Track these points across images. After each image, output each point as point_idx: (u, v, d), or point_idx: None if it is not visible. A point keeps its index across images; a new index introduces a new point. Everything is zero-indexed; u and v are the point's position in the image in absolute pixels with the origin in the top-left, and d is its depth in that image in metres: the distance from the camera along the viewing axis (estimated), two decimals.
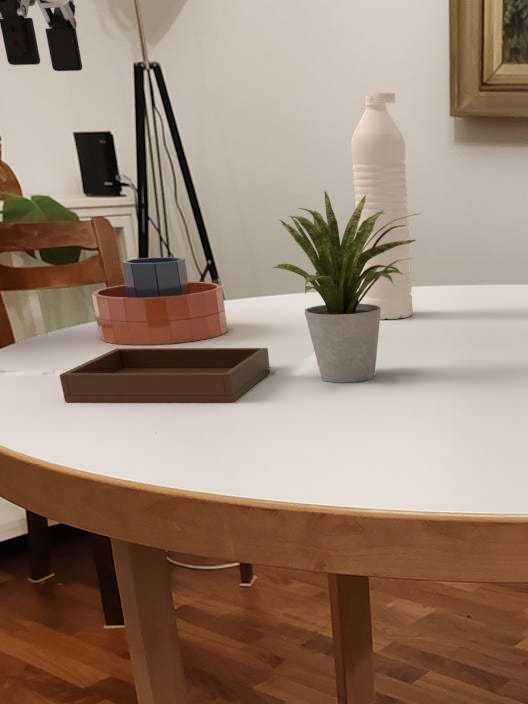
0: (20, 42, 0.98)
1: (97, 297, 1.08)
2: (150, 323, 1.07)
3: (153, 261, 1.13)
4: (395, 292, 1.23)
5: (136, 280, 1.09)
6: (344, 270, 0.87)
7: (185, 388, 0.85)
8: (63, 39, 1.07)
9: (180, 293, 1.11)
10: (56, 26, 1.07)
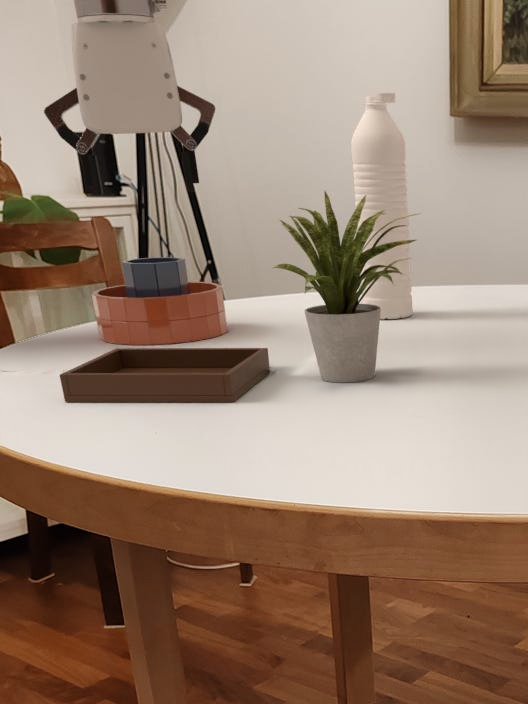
0: (85, 177, 1.05)
1: (97, 297, 1.08)
2: (150, 323, 1.07)
3: (153, 261, 1.13)
4: (395, 292, 1.23)
5: (136, 280, 1.09)
6: (344, 270, 0.87)
7: (185, 388, 0.85)
8: None
9: (180, 293, 1.11)
10: None
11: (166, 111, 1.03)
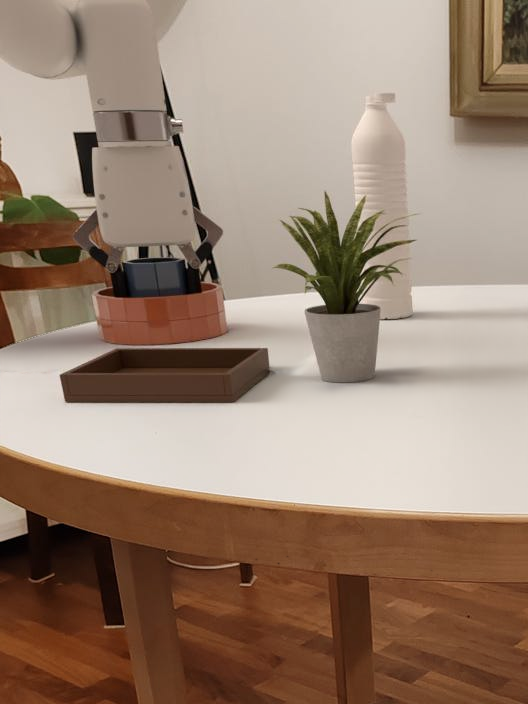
0: None
1: (97, 297, 1.08)
2: (150, 323, 1.07)
3: (153, 261, 1.13)
4: (395, 292, 1.23)
5: (136, 280, 1.09)
6: (344, 270, 0.87)
7: (185, 388, 0.85)
8: None
9: (180, 293, 1.11)
10: None
11: (181, 226, 1.08)
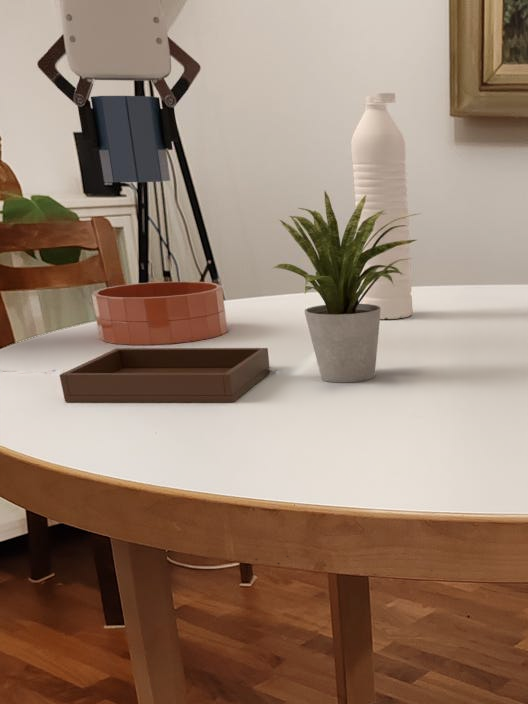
0: None
1: (97, 297, 1.08)
2: (150, 323, 1.07)
3: None
4: (395, 292, 1.23)
5: (106, 115, 1.01)
6: (344, 270, 0.87)
7: (185, 388, 0.85)
8: None
9: (153, 133, 1.03)
10: None
11: (155, 57, 1.00)
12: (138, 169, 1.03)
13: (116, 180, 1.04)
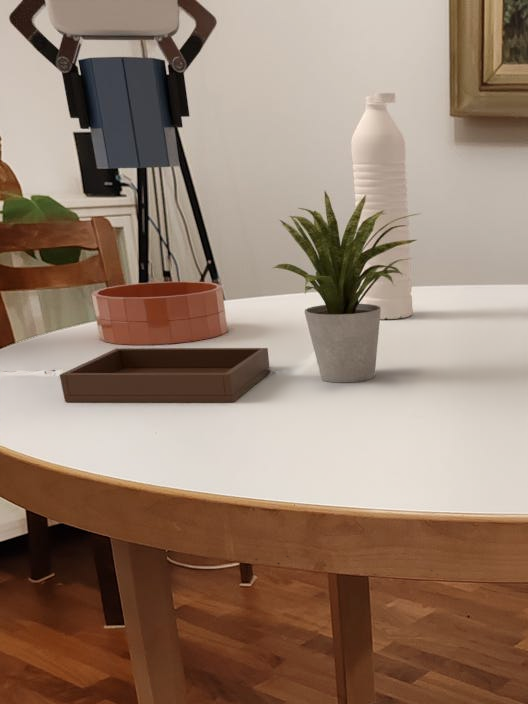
0: None
1: (97, 297, 1.08)
2: (150, 323, 1.07)
3: None
4: (395, 292, 1.23)
5: (98, 82, 0.79)
6: (344, 270, 0.87)
7: (185, 388, 0.85)
8: None
9: (158, 105, 0.81)
10: None
11: (159, 7, 0.79)
12: (140, 151, 0.81)
13: (112, 166, 0.82)
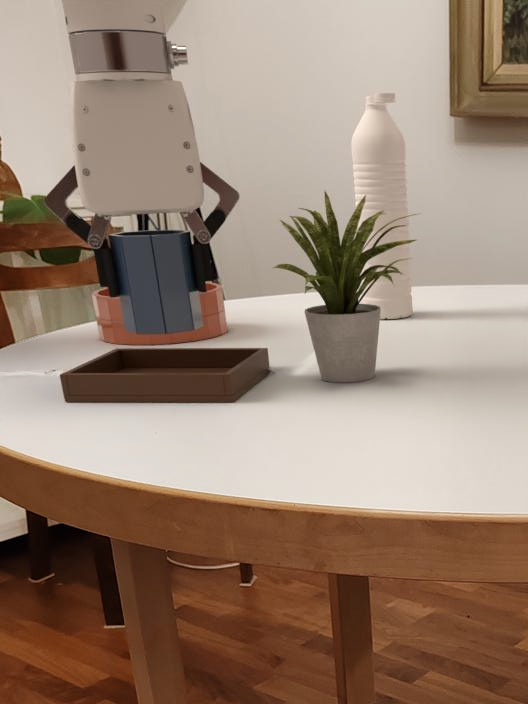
0: (98, 274, 0.85)
1: (97, 297, 1.08)
2: None
3: (149, 235, 0.88)
4: (395, 292, 1.23)
5: (127, 258, 0.83)
6: (344, 270, 0.87)
7: (185, 388, 0.85)
8: (193, 256, 0.87)
9: (184, 276, 0.85)
10: None
11: (185, 188, 0.83)
12: (167, 318, 0.86)
13: (140, 332, 0.86)
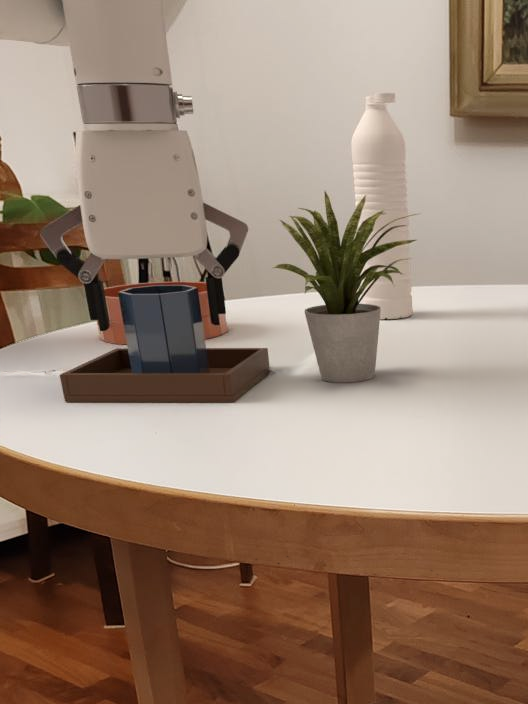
0: None
1: None
2: None
3: (157, 289, 0.90)
4: (395, 292, 1.23)
5: (136, 315, 0.86)
6: (344, 270, 0.87)
7: (185, 388, 0.85)
8: None
9: (192, 331, 0.88)
10: None
11: (189, 234, 0.84)
12: None
13: None
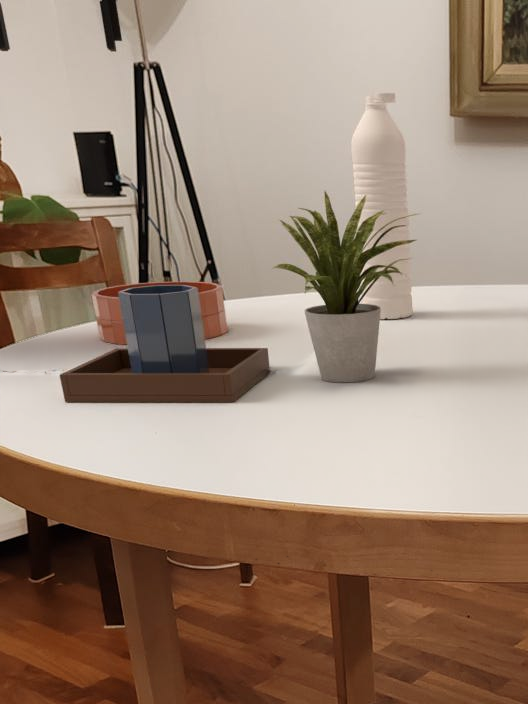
0: None
1: (97, 297, 1.08)
2: None
3: (157, 289, 0.90)
4: (395, 292, 1.23)
5: (136, 315, 0.86)
6: (344, 270, 0.87)
7: (185, 388, 0.85)
8: None
9: (192, 331, 0.88)
10: None
11: None
12: None
13: None
